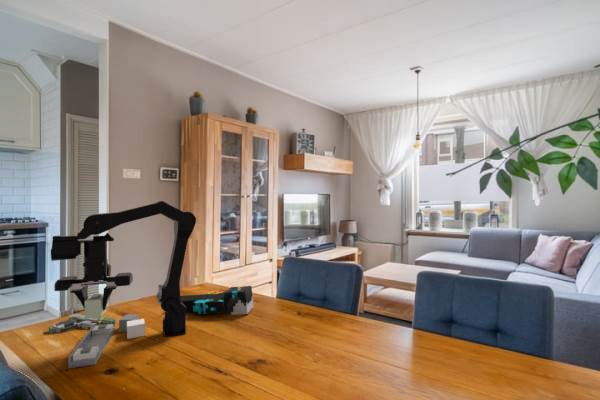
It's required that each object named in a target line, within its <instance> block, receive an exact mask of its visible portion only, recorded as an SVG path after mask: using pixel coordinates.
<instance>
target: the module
mask: <svg viewBox="0 0 600 400" xmlns="http://www.w3.org/2000/svg"><path fill="white" fill-rule="evenodd" d="M103 294H104V293H95V294H94V293H93V294H90V295H88V298H87V299H86V300H85V309H84V314H85V319H87V318H97V317H103V315H104V314H105V313H106V311H107V308H106V309H105V310H103Z"/></svg>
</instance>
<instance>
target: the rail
mask: <svg viewBox="0 0 600 400" xmlns="http://www.w3.org/2000/svg"><path fill="white" fill-rule="evenodd" d="M114 333H115V327H114V326H113V324H103V325H98V326H96V325H93V326H92V327H91V328H89V330H88V331H87V332H86V334H85V335H84V336H83V337H82V339H81V340H80V341H79V342H78V344H77V345H76V346H75V347H74V348H73V350H72V351H71V353H70V354H69V355H68V357H67V358H68V359H67V364H68V367H67V368H68V369H74V368H80V367H88V366H95V365H96V364H97V362H98V361H99V358H100V357H101V356H102V354H103V352H104V350H105V349H106V348H107V345H108V344H109V342H110V340H111V338H112V337H113V335H114Z"/></svg>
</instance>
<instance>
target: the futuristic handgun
mask: <svg viewBox="0 0 600 400" xmlns="http://www.w3.org/2000/svg"><path fill="white" fill-rule="evenodd" d="M103 324H113V327H115V326H116V318H113V317H105V316H101V317H97V318H87V319H85V313H73V314H70V315H69V316H68V319H67V320H62V321H59V322H56V323H54V324H52V325H48V332H49V333H50V335H53V334H55V333H59V334H60V333H64V332H68V331H71V330H74V329H79V328H81V329H86V330H87V329H91V327H92V326H93V325H96V326H98V325H103Z"/></svg>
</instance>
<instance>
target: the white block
mask: <svg viewBox="0 0 600 400" xmlns="http://www.w3.org/2000/svg"><path fill="white" fill-rule="evenodd" d="M138 319H139V314H136V313H135V314H125V315H124V316H122V317H121V318H120V319H118V332H120V333H123V332H124V333H125V332H126V333H127V321H132V320H138Z"/></svg>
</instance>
